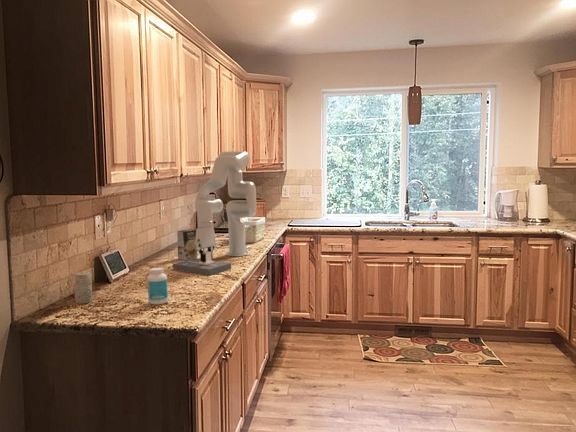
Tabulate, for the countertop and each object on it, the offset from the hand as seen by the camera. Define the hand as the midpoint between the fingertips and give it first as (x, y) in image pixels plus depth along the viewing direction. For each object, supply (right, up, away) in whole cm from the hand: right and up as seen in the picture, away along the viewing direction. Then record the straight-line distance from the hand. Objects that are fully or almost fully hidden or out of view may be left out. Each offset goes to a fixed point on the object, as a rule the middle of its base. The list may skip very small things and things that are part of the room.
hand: (206, 260), depth 245 cm
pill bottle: (-10, -12, -53) cm, 56 cm away
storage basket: (+16, +6, +87) cm, 89 cm away
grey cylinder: (-40, -12, -52) cm, 66 cm away
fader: (0, -2, 0) cm, 1 cm away
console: (-3, -5, +2) cm, 6 cm away
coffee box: (-16, -2, +30) cm, 34 cm away
